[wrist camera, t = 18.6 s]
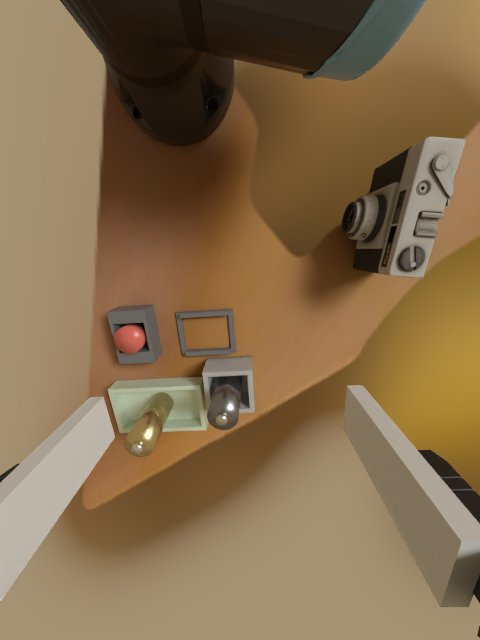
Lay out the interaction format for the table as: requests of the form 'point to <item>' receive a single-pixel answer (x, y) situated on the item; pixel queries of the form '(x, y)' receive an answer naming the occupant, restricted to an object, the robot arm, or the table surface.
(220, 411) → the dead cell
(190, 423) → the trough
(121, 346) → the button
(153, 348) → the button housing
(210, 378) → the bin
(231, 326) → the empty grey frame
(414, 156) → the camera
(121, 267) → the table surface
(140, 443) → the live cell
